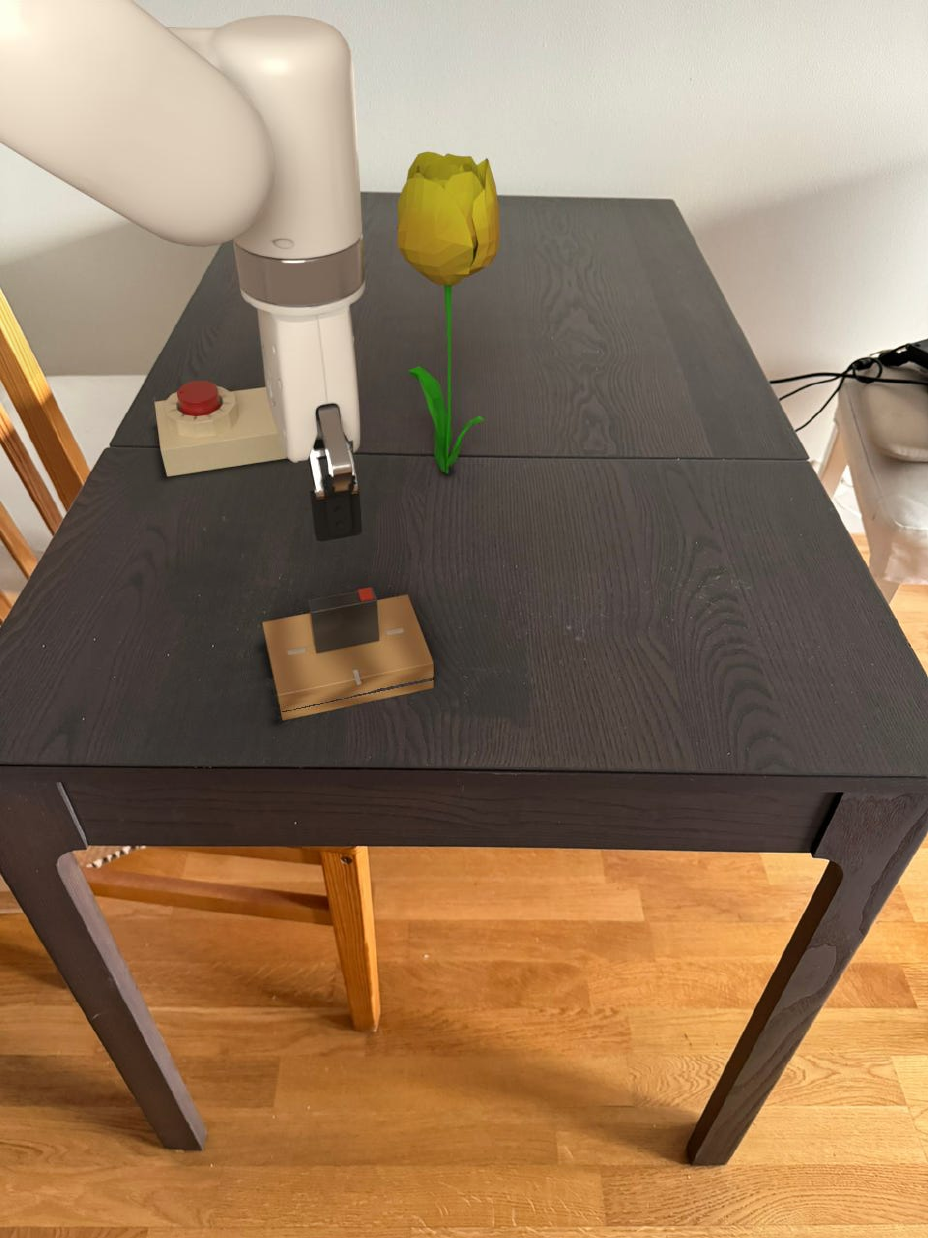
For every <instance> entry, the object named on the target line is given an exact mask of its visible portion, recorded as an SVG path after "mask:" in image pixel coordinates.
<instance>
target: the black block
mask: <svg viewBox="0 0 928 1238" xmlns="http://www.w3.org/2000/svg"><path fill="white" fill-rule="evenodd" d="M377 600H378V599H377V597H376V593H375V591H374V589H373V588H372V587H365V588H361V589H357V590H355V591H352V592H346V593H340V594H334V595H329V596H325V597H324V596H323V597H320V598H314V599H313V598H312V599H308V601H307V605H308V606H307V607H308V612H309V614H310V621H311V629H312V636H313V643H314V647H315V650H316V653H317V654H318V653H323V652H328V651H333V650H338V649H342V648H347V647H352V646H357V645H362V644H367V643H372V642H377V641H379V627H378V610H377Z"/></svg>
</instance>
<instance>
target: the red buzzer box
mask: <svg viewBox="0 0 928 1238" xmlns="http://www.w3.org/2000/svg"><path fill="white" fill-rule="evenodd" d="M216 386H217V388H218V392H219V397H220V403H221V407H220V409H219V410H217V411H215V412H213V413H210V414H208V415H202V416H191V415H184V414H183V413H182V412H181V411H180V407H179V402H178V398H177V391H175V392H173V393H171V394H170V395H169V397H168V398H167V399H166V400H159V401H154V410H155V418H156V425H157V433H158V439H159V448H160V453H161V458H162V461H163V465H164V469H165V473H166V477H173V476H174V477H175V476H180V475H181V476H182V475H186V474H187V475H188V474H193V473H201V472H207V471H214V470H221V469H226V468H233V467H240V466H246V465H253V464H258V463H266V462H273V461H278V460H279V461H280V460H284V459H285V460H286V459H288V458H287V457H286V455H285V453H284V451H283V448H282V445H281V442H280V439H279V436H278V433H277V430H276V426H275V423H274V420H273V417H272V413H271V410H270V407H269V403H268V399H267V394H266V387H265V386H264V387H263V386H261V387H256V388H247V389H239V390H233V391H232V390H231V391H229V390H227V388H224V387H223V386H219V385H216Z"/></svg>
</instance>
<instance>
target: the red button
mask: <svg viewBox="0 0 928 1238" xmlns="http://www.w3.org/2000/svg"><path fill="white" fill-rule="evenodd" d="M217 386H218V385H216V384H215V383H213V382H210V381H205V380H195V381H191V382H187V383H185V384H182V385H181V386H180V387H179V388H178V389H177V391H176V392H177V398H178V402H179V407H180V411H181V412H182V413H183V414H184V415H191V416H202V415H208V414H210V413H213V412H215V411H217V410H219V409H220V407H221V403H220V397H219V392H218V388H217Z"/></svg>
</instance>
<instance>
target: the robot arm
mask: <svg viewBox="0 0 928 1238" xmlns="http://www.w3.org/2000/svg"><path fill="white" fill-rule="evenodd" d="M353 59H354V58H353V53H352V51H351V47H350V45H349V43H348V41H347V39H346V38H345V36H344V35H343V33H342V32H341V31H340V30H338V29H337V28H336V27H335V26H333V25H332V24H329V23H328V22H325V21H322V20H319V19H315V18H311V17H308V16H307V17H306V16H300V15H289V14H288V15H285V14H271V15H270V14H269V15H256V16H249V17H243V18H239V19H237V20H233V21H230V22H227V23H226V24H224V25H221V26H218V27H216V26H215V27H178V26H177V27H175V26H174V27H173V26H165V25H164V24H163V23H161V22H160V21H159V20H157V18H155V17H154V16H152V14H150V13H149V12H148V11H146V10H145V8H143V7H142V6H140V4H138V3H136V2H135V1H134V0H0V143H1V144H2V145H3V146H5V147H7V148H8V149H10V150H12V151H13V152H15V153H16V154H18V155H20V156H21V157H22V158H24V159H26V160H28V161H29V162H30V163H32V164H34V165H36V166H37V167H39V168H41V169H42V170H44V171H46V172H47V173H49V174H50V175H52V176H54V177H55V178H57V179H58V180H61V181H62V182H63V183H66V184H67V185H69V186H71V187H72V188H74V189H75V190H77V191H79V192H80V193H82V194H84V195H86V196H88V197H89V198H90V199H93V200H94V201H97V202H98V203H99V204H101V205H103V206H105V207H106V208H108V209H110V210H111V211H113V212H115V213H116V214H118V215H119V216H121V217H123V218H125V219H126V220H128V221H130V222H131V223H133V224H135V225H136V226H138V227H140V228H141V229H143V230H146V231H147V232H149V233H151V234H153V235H154V236H156V237H158V238H160V239H162V240H165V241H168V242H169V243H173V244H178V245H181V246H185V247H199V248H205V247H212V246H219V245H222V244H225V243H228V242H230V241H232V243H233V251H234V257H235V263H236V270H237V276H238V283H239V290H240V294H241V297H242V299H243V301H245V302H246V303H247V304H249V305H251V306H252V307H254V308H255V309H256V310H257V321H258V330H259V339H260V346H261V355H262V357H261V358H262V366H263V377H264V387H266V394H267V399H268V403H269V407H270V410H271V413H272V417H273V420H274V423H275V426H276V430H277V433H278V436H279V439H280V442H281V445H282V448H283V451H284V453H285V455H286V457H287V458H286V459H288V460H289V461H290V462H292V463H294V464H296V463H297V464H298V463H299V462H305V461H308V465H309V469H310V475H311V480H312V486H313V490H309V495H310V502H311V512H312V521H313V532H314V535H315V538H316V540H317V541H318V542H326V541H333V540H338V539H342V538H350V537H354V536H358V535H361V533H362V532H363V525H362V524H363V523H362V511H361V509H362V508H361V494H360V486H359V484H358V478H357V474H356V473H357V472H356V468H355V463H354V457H353V454H355V453H356V452H357V451H358V449H359V448H360V445H361V416H360V415H361V413H360V412H361V411H360V400H359V386H358V385H359V384H358V373H357V361H356V351H355V336H354V332H353V322H352V312H351V305H352V304H354V303H355V302H357V301H358V300H359V299H360V298H361V297H362V296H363V295H364V293H365V290H366V276H365V257H364V238H363V237H364V236H363V217H362V201H361V199H362V198H361V196H362V195H361V181H360V161H359V160H360V159H359V141H358V140H359V139H358V123H357V122H358V121H357V104H356V83H355V70H354V69H355V68H354V60H353ZM324 459H325V460H326V459H327V465H328V467H327V469H328V474H324V476H322V472H321V465H320V461H319V460H324Z"/></svg>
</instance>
